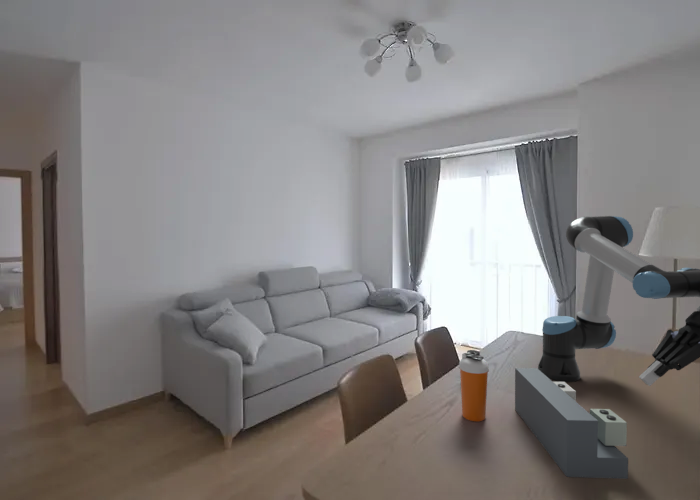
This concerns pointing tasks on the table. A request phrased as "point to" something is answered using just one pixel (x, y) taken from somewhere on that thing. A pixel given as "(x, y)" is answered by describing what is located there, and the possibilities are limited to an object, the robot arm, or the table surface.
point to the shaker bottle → (473, 386)
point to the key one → (567, 389)
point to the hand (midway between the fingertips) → (644, 381)
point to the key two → (610, 427)
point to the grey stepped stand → (565, 428)
